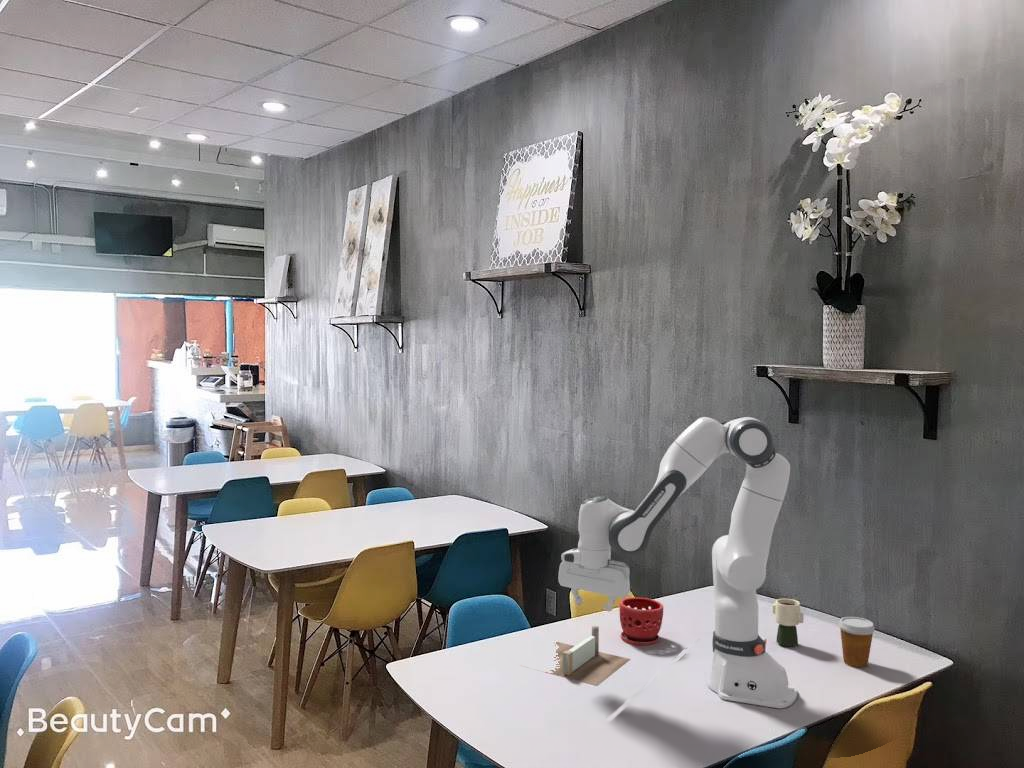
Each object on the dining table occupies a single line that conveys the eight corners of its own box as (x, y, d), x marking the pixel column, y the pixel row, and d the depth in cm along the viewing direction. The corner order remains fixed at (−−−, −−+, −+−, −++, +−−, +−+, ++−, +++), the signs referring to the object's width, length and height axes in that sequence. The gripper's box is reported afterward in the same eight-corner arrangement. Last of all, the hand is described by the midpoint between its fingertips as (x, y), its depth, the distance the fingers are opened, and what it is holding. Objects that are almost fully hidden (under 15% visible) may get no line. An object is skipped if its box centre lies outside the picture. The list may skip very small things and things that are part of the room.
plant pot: (650, 653, 235) (650, 613, 235) (611, 643, 243) (611, 604, 243) (670, 640, 246) (670, 601, 245) (632, 630, 254) (632, 593, 253)
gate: (595, 655, 230) (595, 635, 230) (568, 675, 217) (569, 654, 216) (589, 654, 231) (589, 634, 231) (562, 673, 218) (562, 652, 217)
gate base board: (630, 662, 229) (630, 631, 228) (597, 689, 211) (597, 655, 210) (557, 645, 242) (557, 615, 241) (519, 669, 224) (520, 637, 223)
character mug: (810, 647, 240) (811, 604, 239) (794, 652, 236) (795, 609, 235) (779, 636, 249) (780, 595, 248) (764, 641, 245) (765, 599, 244)
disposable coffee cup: (835, 666, 226) (836, 624, 226) (839, 654, 235) (840, 614, 234) (872, 672, 222) (873, 630, 221) (875, 660, 230) (876, 619, 230)
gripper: (634, 560, 213) (633, 611, 214) (567, 548, 224) (566, 597, 225) (624, 566, 208) (623, 618, 209) (555, 553, 219) (555, 603, 220)
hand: (593, 607), depth 217 cm, fingers open, 8 cm apart
